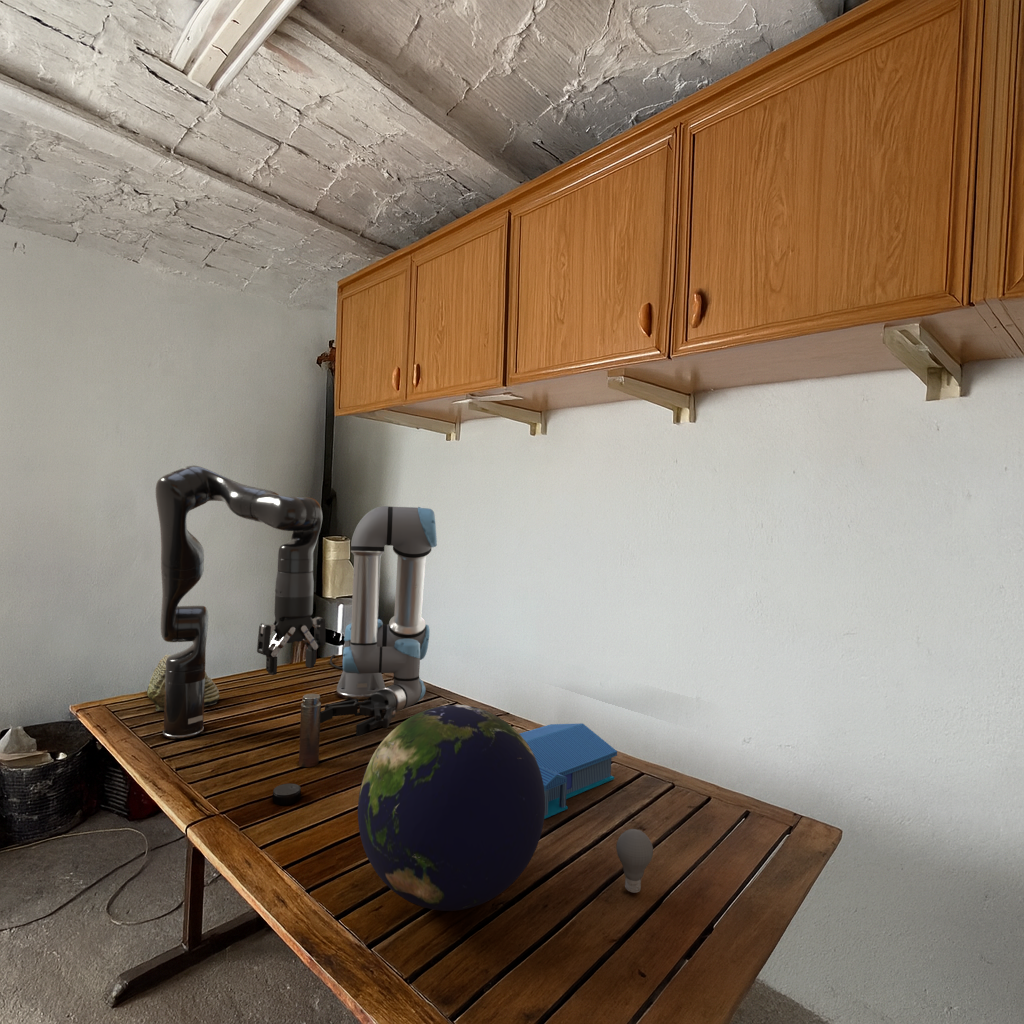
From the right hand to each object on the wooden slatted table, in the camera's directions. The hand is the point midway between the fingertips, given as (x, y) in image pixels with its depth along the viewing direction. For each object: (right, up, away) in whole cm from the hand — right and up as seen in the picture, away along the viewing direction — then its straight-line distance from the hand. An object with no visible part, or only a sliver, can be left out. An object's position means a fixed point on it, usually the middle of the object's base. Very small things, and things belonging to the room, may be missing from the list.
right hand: (335, 725), depth 158 cm
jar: (-4, -6, -8) cm, 11 cm away
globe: (+34, -9, -56) cm, 66 cm away
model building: (+48, -9, -17) cm, 51 cm away
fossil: (-52, -3, +26) cm, 58 cm away
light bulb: (+64, -10, -53) cm, 84 cm away
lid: (-3, -5, -26) cm, 27 cm away
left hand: (-2, +20, -27) cm, 34 cm away
